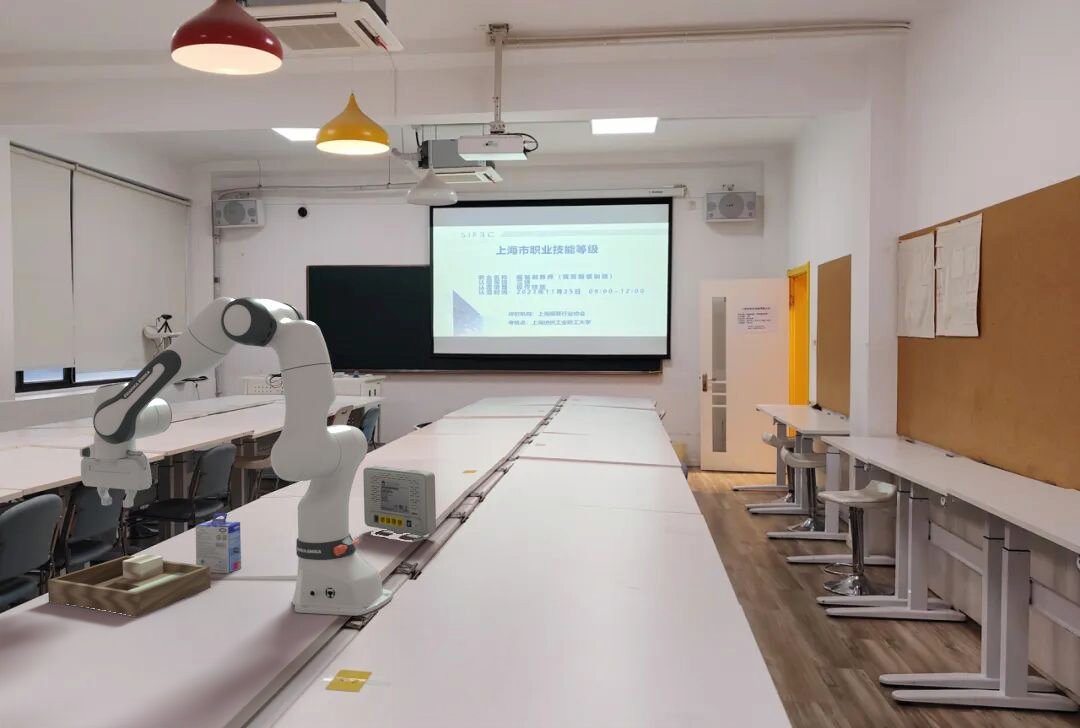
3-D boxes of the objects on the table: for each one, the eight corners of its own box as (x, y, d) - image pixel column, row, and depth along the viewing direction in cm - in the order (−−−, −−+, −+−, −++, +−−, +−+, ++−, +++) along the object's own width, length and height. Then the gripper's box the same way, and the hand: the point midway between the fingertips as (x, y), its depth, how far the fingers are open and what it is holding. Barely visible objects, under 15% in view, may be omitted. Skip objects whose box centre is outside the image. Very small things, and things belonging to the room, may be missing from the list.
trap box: (210, 587, 174) (209, 566, 174) (136, 617, 156) (135, 594, 156) (127, 574, 185) (126, 555, 185) (48, 601, 166) (47, 580, 166)
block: (163, 572, 176) (162, 556, 176) (141, 580, 171) (140, 563, 171) (145, 570, 179) (144, 554, 179) (123, 577, 173) (122, 561, 173)
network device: (441, 537, 215) (439, 470, 214) (421, 545, 207) (419, 475, 207) (378, 527, 228) (377, 464, 228) (358, 533, 221) (356, 468, 220)
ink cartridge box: (243, 567, 189) (241, 512, 189) (229, 574, 184) (228, 517, 183) (209, 565, 191) (207, 511, 191) (195, 572, 186) (193, 516, 185)
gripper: (157, 449, 176) (159, 506, 176) (98, 446, 184) (100, 500, 184) (134, 453, 170) (136, 511, 170) (74, 449, 178) (76, 505, 178)
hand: (117, 505), depth 177 cm, fingers open, 6 cm apart
